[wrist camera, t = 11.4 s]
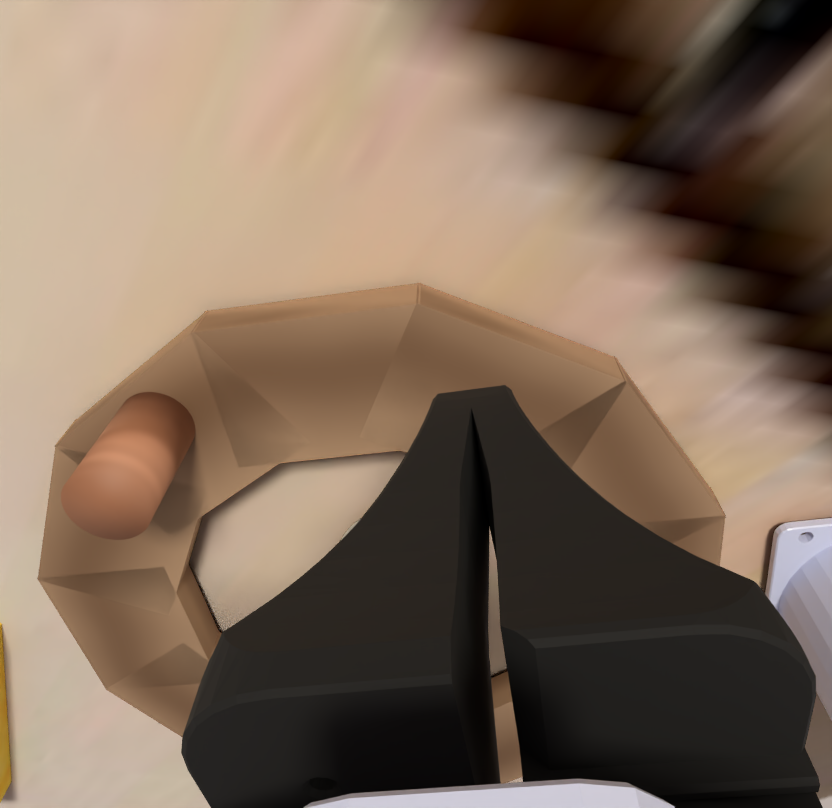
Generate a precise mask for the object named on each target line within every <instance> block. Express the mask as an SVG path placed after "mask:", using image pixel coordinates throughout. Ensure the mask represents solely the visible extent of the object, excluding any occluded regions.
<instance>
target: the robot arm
mask: <svg viewBox="0 0 832 808" xmlns="http://www.w3.org/2000/svg"><path fill="white" fill-rule="evenodd" d="M489 526H490V531H491V535H492V540H493V545H494V549H495V554H496V559H497V570H498V586H499V605H500V626H501V632H502V639H503V645H504V652H505V658H506V664H507V671H508V677H509V683H510V690H511V696H512V702H513V709H514V715H515V722H516V728H517V734H518V741H519V748H520V757H521V767H522V777H523V782H518V783H503V784H501V782H500V771H499V761H498V750H497V739H496V728H495V717H494V706H493V694H492V683H491V671H490V660H489V642H488V597H489ZM805 532H806V533H805ZM802 533H805V534H803V535H801V534H802ZM816 692H817V694H818V696H819V698H820V700H821V702H822V704H823V706H824V708H825V710H826V712H827V713H828V715H829V717H830V719H831V721H832V518H826V519H816V520H806V521H797V522H788V523H784V524H782V525H780V526H779V527H778V528H777V529H776V530H775V532H774V535H773V542H772V549H771V556H770V564H769V571H768V578H767V585H766V592H765V593H764V592H763V591H762V590H761V588H760V587H759V586H758V585H757V583H755V582H754V581H752V580H750V579H748V578H745V577H743V576H741V575H738V574H736V573H734V572H732V571H729V570H727V569H725V568H722V567H720V566H718V565H716V564H713V563H711V562H709V561H706V560H704V559H702V558H700V557H697V556H695V555H693V554H691V553H690V552H688V551H686V550H684V549H682V548H680V547H678V546H676V545H675V544H673V543H671V542H669V541H667V540H665V539H663V538H662V537H660V536H658V535H657V534H655V533H653V532H652V531H650V530H649V529H647V528H646V527H644V526H643V525H641V524H639V523H638V522H636V521H635V520H633V519H632V518H630V517H629V516H627V515H626V514H624V513H623V512H622V511H620V510H619V509H618V508H616V507H615V506H614V505H612V504H611V503H610V502H608V501H607V500H606V499H604V498H603V497H602V496H601V495H600V494H598V493H597V492H596V491H595V490H594V489H592V488H591V487H590V486H589V485H588V484H587V483H586V482H585V481H583V480H582V479H581V478H580V477H579V476H578V475H577V474H576V473H575V472H574V471H573V470H572V469H571V468H570V467H569V466H568V465H567V464H566V463H565V462H564V461H563V460H562V459H561V458H560V457H559V456H558V455H557V453H556V452H555V451H554V450H553V449H552V448H551V447H550V446H549V444H548V443H547V442H546V441H545V440H544V438H543V437H542V436H541V435H540V433H539V432H538V431H537V430H536V429H535V427H534V426H533V425H532V423H531V422H530V421H529V419H528V418H527V416H526V415H525V413H524V412H523V410H522V409H521V407H520V406H519V404H518V402H517V400H516V399H515V397H514V395H513V392H512V390H511V389H510V388H509V387H507V386H506V385H501V386H493V387H485V388H478V389H470V390H463V391H455V392H447V393H440V394H437V395H436V397H435V398H434V399H433V400H432V403H431V406H430V408H429V411H428V413H427V415H426V418H425V420H424V422H423V424H422V426H421V428H420V430H419V432H418V434H417V436H416V438H415V439H414V441H413V443H412V445H411V447H410V448H409V450H408V452H407V454H406V456H405V457H404V459H403V461H402V462H401V464H400V466H399V467H398V469H397V470H396V472H395V473H394V475H393V476H392V478H391V479H390V481H389V482H388V484H387V485H386V487H385V488H384V490H383V491H382V492H381V494H380V495H379V496H378V498H377V499H376V500H375V502H374V503H373V504H372V506H371V507H370V508H369V509H368V511H367V512H366V513H365V514H364V516H363V517H362V518H361V519H360V520H359V521H358V523H357V524H356V525H355V526H354V527H353V528H352V529H351V530H350V532H349V533H348V534H347V535H346V536H345V537H344V538H343V539H342V540H341V541H340V542H339V543H338V544H337V545H336V546H335V547H334V548H333V549H332V550H331V551H330V552H329V553H328V554H327V555H326V556H325V557H324V558H322V559H321V560H320V561H319V562H318V563H317V564H316V565H314V566H313V567H312V568H311V569H310V570H309V571H307V572H306V573H305V574H304V575H303V576H302V577H300V578H299V579H298V580H297V581H295V582H294V583H293V584H291V585H290V586H289V587H288V588H286V589H285V590H284V591H283V592H281V593H280V594H278V595H277V596H276V597H274V598H273V599H272V600H270V601H269V602H267V603H266V604H264V605H263V606H261V607H260V608H258V609H257V610H256V611H254V612H253V613H251V614H250V615H248V616H247V617H245V618H244V619H242V620H241V621H239V622H238V623H236V624H235V625H233V626H232V627H230V628H228V629H227V630H225V631H224V632H222V634H221V636H220V639H219V641H218V644H217V646H216V648H215V650H214V652H213V654H212V656H211V658H210V660H209V662H208V665H207V667H206V669H205V672H204V674H203V677H202V679H201V682H200V685H199V688H198V691H197V694H196V697H195V700H194V703H193V706H192V709H191V712H190V715H189V718H188V721H187V724H186V727H185V730H184V733H183V738H182V752H181V753H182V756H183V758H184V761H185V763H186V766H187V769H188V771H189V772H190V774H191V776H192V777H193V779H194V781H195V782H196V784H197V785H198V787H199V789H200V790H201V792H202V794H203V795H204V797H205V798H206V800H207V802H208V803H209V805H210V807H211V808H822V805H821V803H820V801H819V799H818V797H817V794H816V792H818V791H819V787H820V783H819V779H818V775H817V773H816V771H815V769H814V767H813V765H812V762H811V760H810V758H809V756H808V754H807V752H806V750H805V744H806V739H807V735H808V730H809V725H810V721H811V716H812V712H813V707H814V703H815V698H816Z"/></svg>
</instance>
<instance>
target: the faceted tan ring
mask: <svg viewBox="0 0 832 808" xmlns="http://www.w3.org/2000/svg"><path fill="white" fill-rule="evenodd" d="M501 385H506V386H507V387H509V388H510V389H511V390H512V392H513V395H514V397H515V399H516V400H517V402H518V404H519V406H520V407H521V409H522V410H523V412H524V413H525V415H526V416H527V418H528V419H529V421H530V422H531V423H532V425H533V426H534V427H535V429H536V430H537V431H538V432H539V433H540V435H541V436H542V437H543V438H544V440H545V441H546V442H547V443H548V444H549V446H550V447H551V448H552V449H553V450H554V451H555V452H556V453H557V455H558V456H559V457H560V458H561V459H562V460H563V461H564V462H565V463H566V464H567V465H568V466H569V467H570V468H571V469H572V470H573V471H574V472H575V473H576V474H577V475H578V476H579V477H580V478H581V479H582V480H583V481H585V482H586V483H587V484H588V485H589V486H590V487H591V488H592V489H594V490H595V491H596V492H597V493H598V494H600V495H601V496H602V497H603V498H604V499H606V500H607V501H608V502H610V503H611V504H612V505H614V506H615V507H616V508H618V509H619V510H620V511H622V512H623V513H624V514H626V515H627V516H629V517H630V518H632V519H633V520H635V521H636V522H638V523H639V524H641V525H643V526H644V527H646V528H647V529H649V530H650V531H652V532H653V533H655V534H657V535H658V536H660V537H662V538H663V539H665V540H667V541H669V542H671V543H673V544H675V545H676V546H678V547H680V548H682V549H684V550H686V551H688V552H690V553H691V554H693V555H695V556H697V557H700V558H702V559H704V560H706V561H709V562H711V563H713V564H716V565H718V566H720V558H721V549H722V540H723V531H724V523H725V518H726V517H725V514H724V512H723V510H722V508H721V506H720V504H719V502H718V500H717V498H716V497H715V495H714V493H713V491H712V489H711V487H709V486H708V484H707V483H706V481H705V480H704V479H703V477H702V476H701V475H700V473H699V472H698V470H697V469H696V468H695V466H694V465H693V464H692V462H691V461H690V459H689V458H688V457H687V455H686V454H685V453H684V451H683V450H682V448H681V447H680V446H679V444H678V443H677V442H676V440H675V439H674V437H673V436H672V435H671V433H670V432H669V431H668V429H667V428H666V426H665V425H664V424H663V422H662V421H661V420H660V418H659V417H658V415H657V414H656V413H655V411H654V410H653V409H652V407H651V406H650V404H649V403H648V402H647V400H646V399H645V398H644V396H643V395H642V393H641V392H640V391H639V389H638V388H637V387H636V385H635V384H634V382H633V381H632V380H631V378H630V377H629V376H628V374H627V373H626V371H625V370H624V369H623V367H622V366H621V365H620V363H619V362H618V360H617V358H615V356H614V357H613V356H610V355H607V354H605V353H602V352H600V351H597V350H594V349H592V348H589V347H586V346H584V345H581V344H578V343H576V342H573V341H571V340H568V339H565V338H563V337H560V336H557V335H555V334H552V333H549V332H547V331H544V330H542V329H539V328H536V327H534V326H531V325H528V324H526V323H523V322H520V321H518V320H515V319H513V318H510V317H507V316H505V315H502V314H499V313H497V312H494V311H492V310H489V309H486V308H484V307H481V306H478V305H476V304H473V303H470V302H468V301H465V300H463V299H460V298H457V297H455V296H452V295H449V294H447V293H444V292H441V291H439V290H436V289H434V288H431V287H428V286H426V285H423V284H421V283H417V284H410V285H402V286H394V287H387V288H379V289H371V290H364V291H356V292H349V293H341V294H333V295H326V296H318V297H310V298H303V299H295V300H288V301H280V302H272V303H265V304H257V305H249V306H242V307H234V308H227V309H219V310H211V311H208V310H207V311H205V312H204V314H203V315H201V316H200V317H199V318H198V319H197V320H195V321H194V322H193V323H192V324H191V325H189V326H188V327H187V328H186V329H185V330H183V331H182V332H181V333H180V334H179V335H178V336H176V337H175V338H174V339H173V340H172V341H170V342H169V343H168V344H167V345H166V346H164V347H163V348H162V349H161V350H160V351H158V352H157V353H156V354H155V355H154V356H152V357H151V358H150V359H149V360H148V361H146V362H145V363H144V364H143V365H142V366H140V367H139V368H138V369H137V370H136V371H134V372H133V373H132V374H131V375H130V376H128V377H127V378H126V379H125V380H124V381H122V382H121V383H120V384H119V385H118V386H116V387H115V388H114V389H113V390H112V391H110V392H109V393H108V394H107V395H106V396H104V397H103V398H102V399H101V400H100V401H98V402H97V403H96V404H95V405H94V406H92V407H91V408H90V409H89V410H88V411H87V412H85V413H84V414H83V415H82V416H81V417H79V418H78V419H76V420H75V421H74V422H73V424H72V425H71V426H70V427H69V429H68V430H67V431H66V432H65V434H64V435H63V436H62V437H61V439H60V440H59V441H58V442H57V444H56V445H55V454H54V462H53V469H52V477H51V484H50V492H49V499H48V507H47V514H46V522H45V529H44V537H43V544H42V552H41V560H40V567H39V575H38V578H37V579H38V580H39V582H40V583H41V585H42V587H43V588H44V590H45V592H46V593H47V595H48V596H49V598H50V600H51V601H52V603H53V604H54V606H55V608H56V609H57V611H58V612H59V614H60V616H61V617H62V619H63V621H64V622H65V624H66V625H67V627H68V629H69V630H70V632H71V633H72V635H73V637H74V638H75V640H76V641H77V643H78V645H79V646H80V648H81V649H82V651H83V653H84V654H85V656H86V658H87V659H88V661H89V662H90V664H91V666H92V667H93V669H94V670H95V672H96V674H97V675H98V677H99V678H100V680H101V682H102V683H103V685H104V686H105V688H106V690H108V691H109V692H111V693H113V694H114V695H116V696H117V697H119V698H121V699H122V700H124V701H125V702H127V703H129V704H130V705H132V706H133V707H135V708H137V709H138V710H140V711H141V712H143V713H145V714H146V715H148V716H149V717H151V718H153V719H154V720H156V721H157V722H159V723H161V724H162V725H164V726H165V727H167V728H169V729H170V730H172V731H173V732H175V733H177V734H178V735H180V736H181V737H183V733H184V730H185V727H186V724H187V721H188V718H189V715H190V712H191V709H192V706H193V703H194V700H195V697H196V694H197V691H198V688H199V685H200V682H201V679H202V677H203V674H204V672H205V669H206V667H207V665H208V662H209V660H210V658H211V656H212V654H213V652H214V650H215V648H216V646H217V644H218V641H219V639H220V636H221V634H222V633H220V632H219V631H218V629H217V626H216V624H215V622H214V620H213V618H212V615H211V613H210V611H209V609H208V606H207V604H206V602H205V600H204V598H203V595H202V593H201V591H200V589H199V586H198V584H197V582H196V580H195V578H194V575H193V573H192V571H191V569H190V567H189V560H190V557H191V554H192V550H193V547H194V543H195V540H196V537H197V533H198V530H199V527H200V523H201V520H202V517H203V515H205V514H206V513H207V512H209V511H210V510H212V509H213V508H215V507H216V506H218V505H219V504H221V503H222V502H224V501H225V500H227V499H228V498H229V497H231V496H232V495H234V494H235V493H237V492H238V491H240V490H241V489H243V488H244V487H246V486H247V485H249V484H250V483H251V482H253V481H254V480H256V479H257V478H259V477H260V476H262V475H263V474H265V473H266V472H268V471H269V470H271V469H272V468H273V467H275V466H276V465H278V464H279V463H287V462H296V461H306V460H315V459H325V458H334V457H343V456H353V455H362V454H372V453H381V452H391V451H403V452H406V453H407V452H408V450H409V448H410V447H411V445H412V443H413V441H414V439H415V438H416V436H417V434H418V432H419V430H420V428H421V426H422V424H423V422H424V420H425V418H426V415H427V413H428V411H429V408H430V406H431V403H432V400H433V399H434V398H435V397H436V395H437V394H440V393H447V392H455V391H463V390H470V389H478V388H485V387H493V386H501ZM491 683H492V694H493V706H494V717H495V728H496V739H497V750H498V761H499V771H500V782H501V784H503V783H507V782H509V781H512V780H515V779H517V778H520V777H522V767H521V757H520V748H519V741H518V734H517V728H516V722H515V715H514V709H513V702H512V696H511V690H510V683H509V677H508V671H507V672H505V673H502V674H500V675H498V676H496V677H494V678H491Z"/></svg>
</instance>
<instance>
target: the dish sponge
mask: <svg viewBox="0 0 832 808" xmlns="http://www.w3.org/2000/svg"><path fill="white" fill-rule="evenodd" d="M10 783H11V765H10V749H9V733H8V717H7V701H6V685H5V669H4V654H3V638H2V624H1V623H0V802H1V800H2V798H3V796H4V795H5V793H6V791H7V789H8V787H9V785H10Z"/></svg>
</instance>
